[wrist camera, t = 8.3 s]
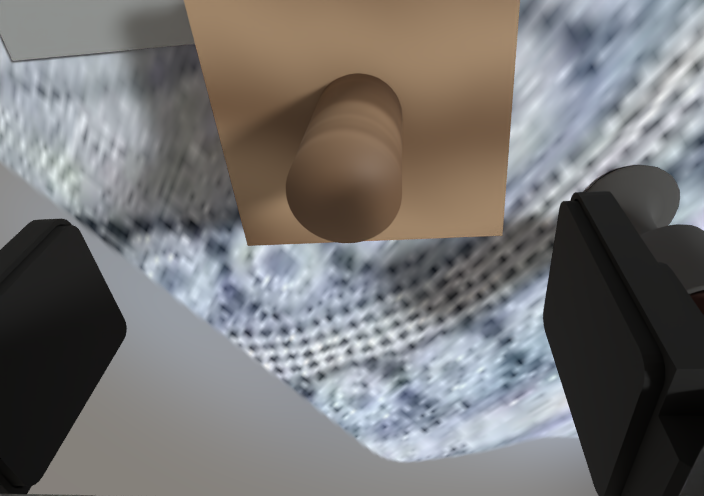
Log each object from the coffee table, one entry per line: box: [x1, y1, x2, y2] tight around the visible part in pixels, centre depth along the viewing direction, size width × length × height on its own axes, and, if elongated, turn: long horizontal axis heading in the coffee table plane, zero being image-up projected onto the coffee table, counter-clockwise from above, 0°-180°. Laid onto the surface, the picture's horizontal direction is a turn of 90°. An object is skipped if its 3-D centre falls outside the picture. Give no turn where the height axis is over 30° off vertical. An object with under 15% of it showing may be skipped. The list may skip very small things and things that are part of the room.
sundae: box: [587, 165, 704, 315], centre depth 20 cm, size 7×7×15 cm
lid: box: [184, 0, 520, 246], centre depth 17 cm, size 11×11×7 cm
